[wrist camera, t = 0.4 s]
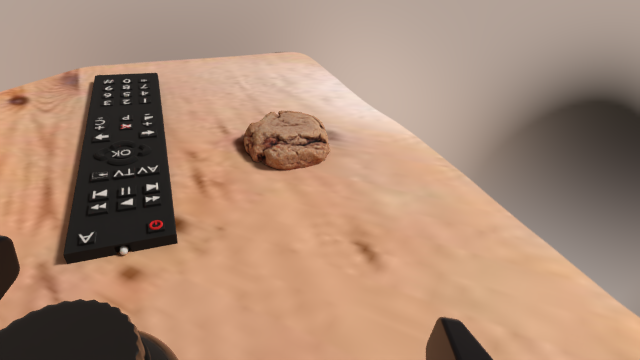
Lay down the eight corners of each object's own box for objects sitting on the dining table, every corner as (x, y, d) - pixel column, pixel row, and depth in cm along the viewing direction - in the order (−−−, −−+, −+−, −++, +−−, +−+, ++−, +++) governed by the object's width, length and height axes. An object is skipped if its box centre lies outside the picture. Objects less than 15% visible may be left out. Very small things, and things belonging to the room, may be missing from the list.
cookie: (331, 128, 48) (334, 107, 46) (327, 178, 39) (331, 155, 38) (254, 119, 48) (253, 97, 46) (233, 167, 39) (232, 143, 37)
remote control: (69, 271, 28) (60, 254, 26) (98, 86, 50) (94, 72, 49) (178, 250, 30) (175, 233, 29) (159, 83, 53) (156, 70, 52)
